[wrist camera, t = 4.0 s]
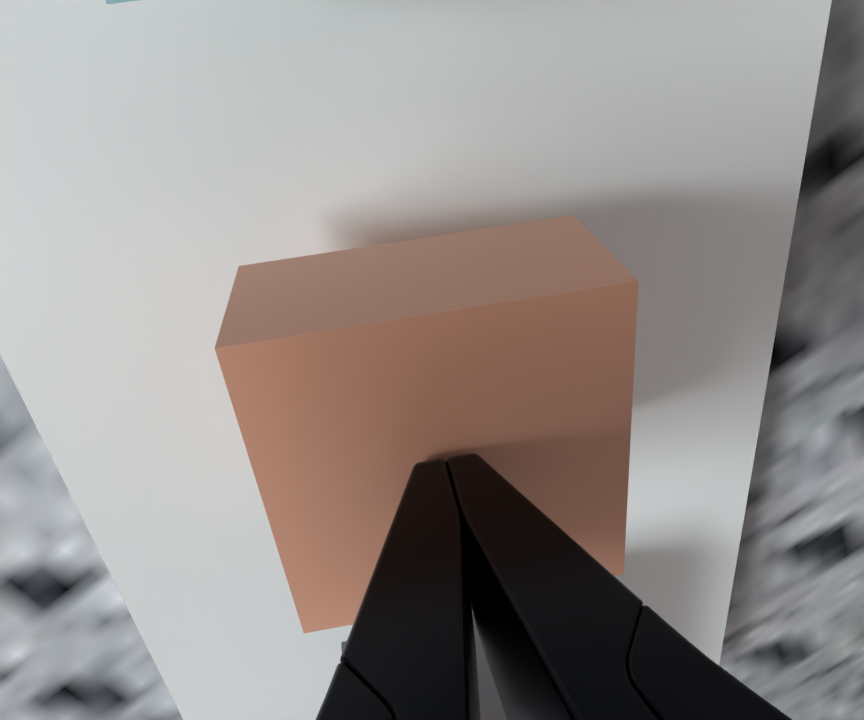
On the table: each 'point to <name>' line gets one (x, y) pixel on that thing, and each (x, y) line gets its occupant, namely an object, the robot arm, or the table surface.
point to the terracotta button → (431, 389)
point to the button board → (373, 225)
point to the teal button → (118, 1)
